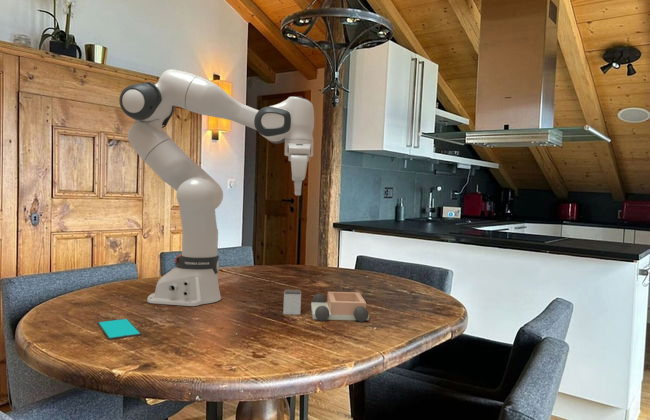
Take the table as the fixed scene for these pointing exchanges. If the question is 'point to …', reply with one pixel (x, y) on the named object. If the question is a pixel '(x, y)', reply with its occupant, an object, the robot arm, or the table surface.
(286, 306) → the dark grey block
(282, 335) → the table surface
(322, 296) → the chassis
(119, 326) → the smartphone
